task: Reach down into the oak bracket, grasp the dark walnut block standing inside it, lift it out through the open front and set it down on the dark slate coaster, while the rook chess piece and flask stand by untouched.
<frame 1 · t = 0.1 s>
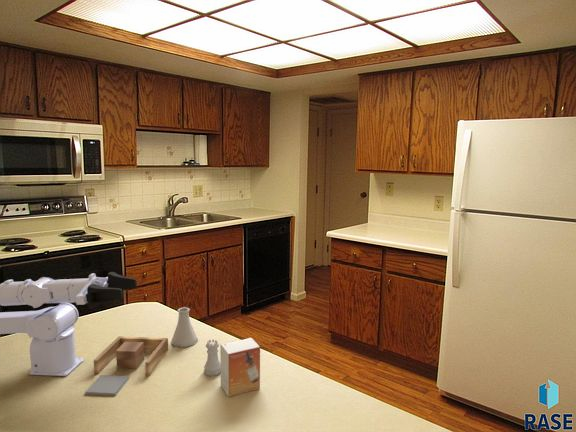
hand: (129, 288, 97), 22 cm above the countertop, tool horizontal, fingers open, 7 cm apart
flask: (184, 342, 116), on the countertop
small box: (240, 387, 94), on the countertop
rook chess piece: (213, 372, 101), on the countertop
walnut block: (131, 364, 104), on the countertop
oak bracket: (132, 362, 105), on the countertop
slate coaster: (107, 386, 94), on the countertop
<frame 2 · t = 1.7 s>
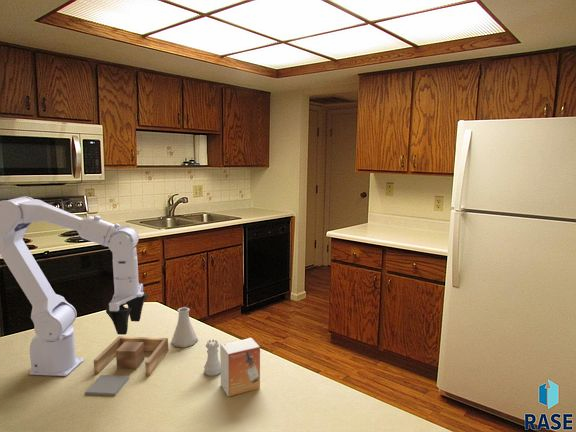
hand: (129, 327, 102), 10 cm above the countertop, tool pointing down, fingers open, 7 cm apart
nothing on the countertop moved.
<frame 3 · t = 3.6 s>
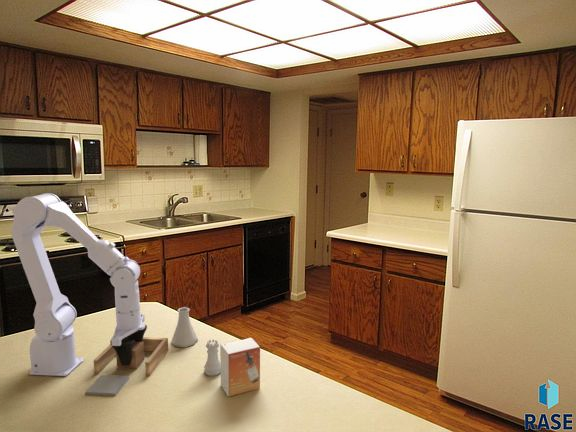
hand: (130, 358, 104), 1 cm above the countertop, tool pointing down, fingers closed on walnut block, 5 cm apart
walnut block: (131, 364, 104), on the countertop, touching gripper
everything else where it was.
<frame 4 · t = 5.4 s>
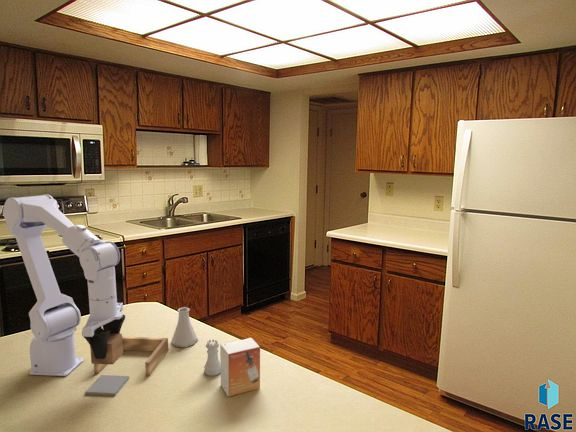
hand: (106, 352, 93), 8 cm above the countertop, tool pointing down, fingers closed on walnut block, 5 cm apart
walnut block: (107, 358, 93), point 7 cm above the countertop, touching gripper
everything else where it was.
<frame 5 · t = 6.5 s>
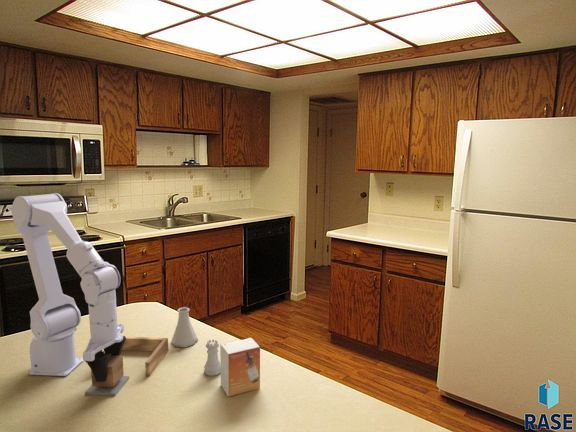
hand: (107, 374, 93), 3 cm above the countertop, tool pointing down, fingers closed on walnut block, 5 cm apart
walnut block: (108, 380, 94), point 1 cm above the countertop, touching gripper
everything else where it was.
when the fingers open (3 cm above the countertop, at t = 7.4 s): walnut block stays where it is, resting on slate coaster.
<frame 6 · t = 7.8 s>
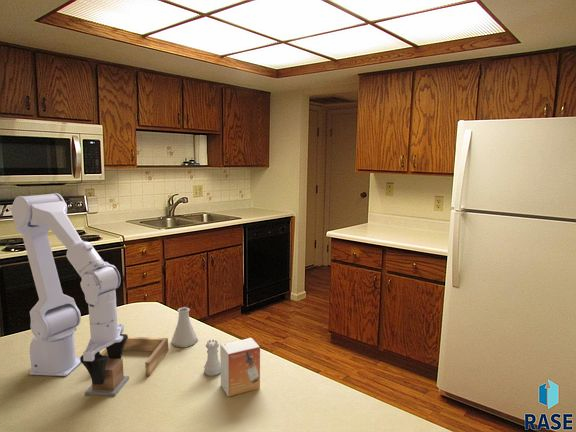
hand: (107, 374, 93), 3 cm above the countertop, tool pointing down, fingers open, 7 cm apart
walnut block: (108, 383, 94), point 1 cm above the countertop, touching slate coaster
everything else where it was.
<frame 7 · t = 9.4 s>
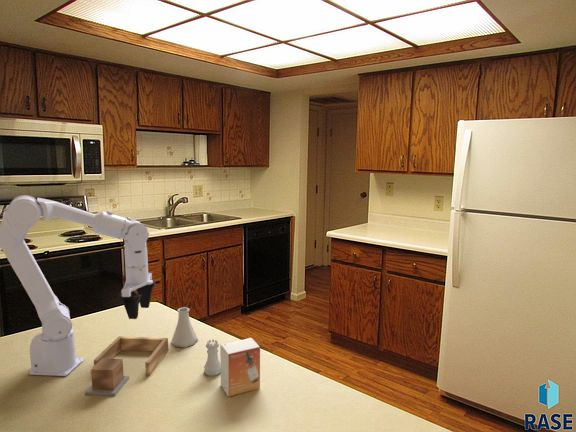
hand: (139, 312, 110), 10 cm above the countertop, tool pointing down, fingers open, 7 cm apart
nothing on the countertop moved.
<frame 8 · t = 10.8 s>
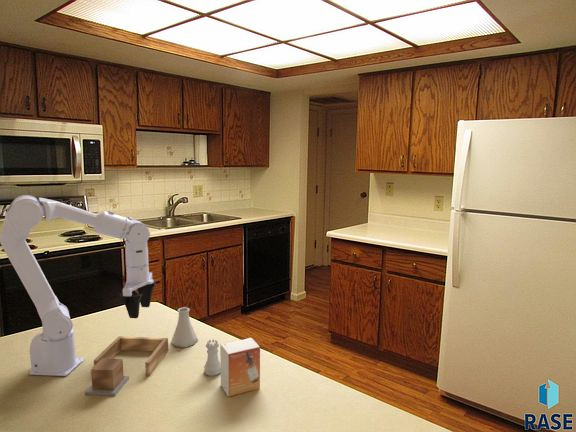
hand: (139, 312, 111), 10 cm above the countertop, tool pointing down, fingers open, 7 cm apart
nothing on the countertop moved.
at the end: walnut block inside the target area on the slate coaster (0.2 cm from its centre), point 0.6 cm above the slate coaster's base; walnut block inside the target area on the countertop beside the oak bracket (11.5 cm from its centre), point 0.6 cm above the countertop; the gripper is holding nothing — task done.
